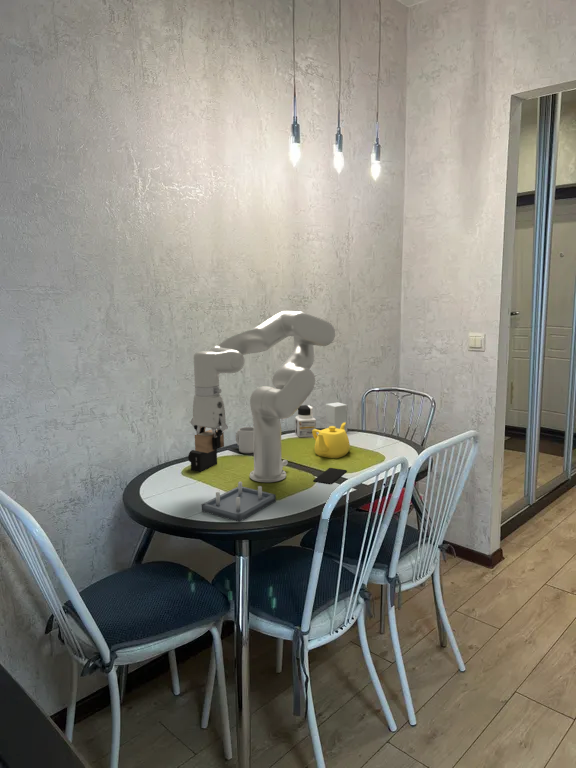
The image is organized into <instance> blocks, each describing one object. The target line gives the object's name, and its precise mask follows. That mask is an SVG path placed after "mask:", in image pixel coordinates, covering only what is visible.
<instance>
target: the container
mask: <svg viewBox="0 0 576 768" xmlns="http://www.w3.org/2000/svg"><path fill="white" fill-rule="evenodd" d="M294 425H295V426H294V428H295V429H294V431H295V432H294V433H295V434H296V435H297V436H298V437H299V438H309V437H313V434H312V430H313V429H317V420H316V418H315V417H314V408H313V406H311V405H309V404H308V405H307V404H304V405H301V406H300V407H299V408H298V409H297V415H296V416H295V418H294Z"/></svg>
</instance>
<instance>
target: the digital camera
mask: <svg viewBox="0 0 576 768" xmlns="http://www.w3.org/2000/svg"><path fill="white" fill-rule="evenodd" d="M217 451H218V449H216V450H214V451H211V452H209V453H205V452H200V451H195V449H191V451H189V453H188V457H187V458H188V461H189V462H190V471H192V472H196V473H197V472H199V473H202V472H204V471H206V470H208V469H210V468H212V467H215V466H216V465H218V452H217Z"/></svg>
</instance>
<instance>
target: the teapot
mask: <svg viewBox="0 0 576 768" xmlns="http://www.w3.org/2000/svg"><path fill="white" fill-rule="evenodd" d="M345 424H346V423H345V422H344V423H342V425H341V427H340V429H338V428H336V427H335V426H330V427H329V428H326V427H325V428H323V429H321V430H320V429H317V428H316V429H313V430H312V434H313V436H312V437H313V438H314V439H313V440H315V442H314V453H315V454H316V455H317V456H319V457H324V458H328V459H329V458H330V459H338V458H342V457H344V456H346V455H347V454H348V453H349V451H350V448H351V447H350V446H351V445H350V439H349V436H348V434H347V432H346V431H345Z"/></svg>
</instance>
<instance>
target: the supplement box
mask: <svg viewBox="0 0 576 768" xmlns="http://www.w3.org/2000/svg"><path fill="white" fill-rule="evenodd" d="M344 422H345V423H346V424H345V431H346V433H347V432H348V404H345V403H342V402H339V401H337V402H330V403H325V429H326V428H329V427H330V426H335V427H336V428H338V429H340V427H341V425H342V423H344Z"/></svg>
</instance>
